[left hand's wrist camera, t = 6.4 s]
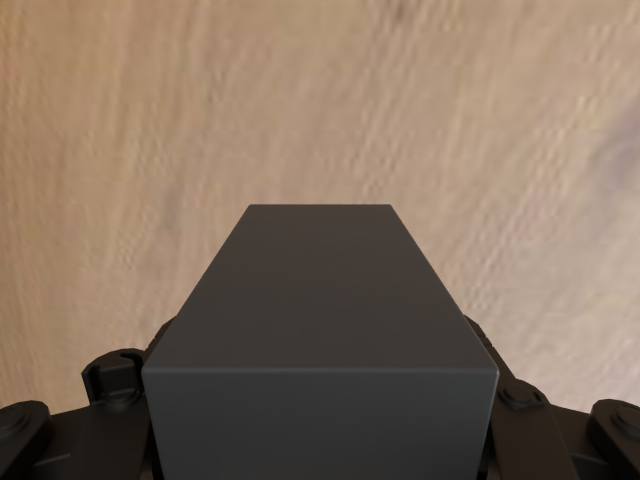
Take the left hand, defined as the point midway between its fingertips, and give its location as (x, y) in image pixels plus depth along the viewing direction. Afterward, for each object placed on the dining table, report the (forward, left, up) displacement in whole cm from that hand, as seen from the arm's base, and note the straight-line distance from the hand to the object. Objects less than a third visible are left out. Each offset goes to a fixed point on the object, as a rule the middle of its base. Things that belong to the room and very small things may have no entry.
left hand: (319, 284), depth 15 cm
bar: (+8, +4, 0) cm, 9 cm away
